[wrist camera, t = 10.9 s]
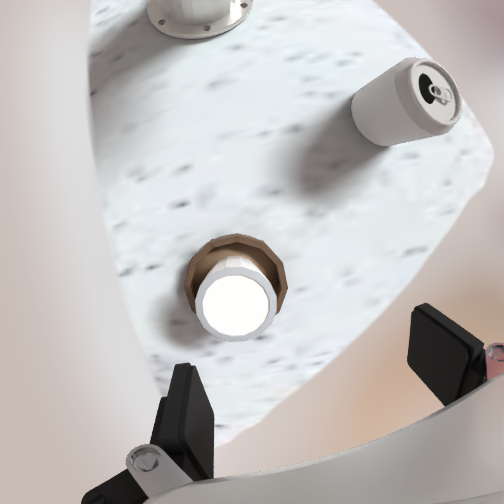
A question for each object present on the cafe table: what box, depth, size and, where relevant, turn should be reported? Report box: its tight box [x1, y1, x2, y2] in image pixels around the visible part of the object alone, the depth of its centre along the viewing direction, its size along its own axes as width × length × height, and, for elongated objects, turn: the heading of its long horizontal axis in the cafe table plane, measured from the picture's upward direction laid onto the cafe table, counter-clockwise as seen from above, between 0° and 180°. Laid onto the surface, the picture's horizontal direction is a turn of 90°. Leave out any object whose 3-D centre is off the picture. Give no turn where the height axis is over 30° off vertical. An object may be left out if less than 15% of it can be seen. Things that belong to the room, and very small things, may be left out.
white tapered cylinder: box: [195, 256, 277, 342], centre depth 27 cm, size 7×7×7 cm
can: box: [351, 57, 462, 146], centre depth 22 cm, size 8×8×12 cm
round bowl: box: [184, 234, 288, 315], centre depth 30 cm, size 10×10×2 cm
